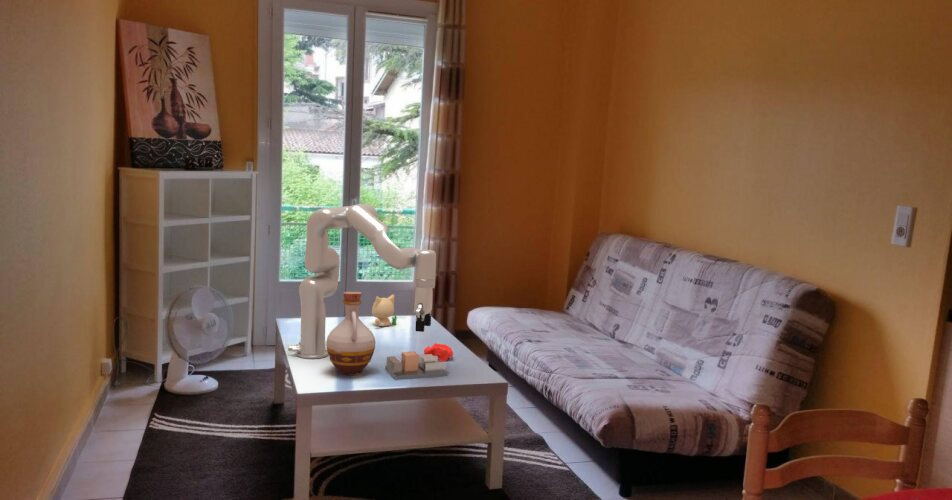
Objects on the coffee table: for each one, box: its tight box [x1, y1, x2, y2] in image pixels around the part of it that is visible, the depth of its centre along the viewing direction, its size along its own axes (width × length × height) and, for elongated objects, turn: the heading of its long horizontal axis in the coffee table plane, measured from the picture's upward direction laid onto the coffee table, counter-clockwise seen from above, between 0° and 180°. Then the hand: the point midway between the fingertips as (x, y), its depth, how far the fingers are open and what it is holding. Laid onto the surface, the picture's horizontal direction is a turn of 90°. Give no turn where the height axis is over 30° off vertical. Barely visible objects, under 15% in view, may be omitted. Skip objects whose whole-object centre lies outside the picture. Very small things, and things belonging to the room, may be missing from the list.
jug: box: [325, 291, 376, 376], centre depth 260 cm, size 20×18×30 cm
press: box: [384, 355, 448, 381], centre depth 266 cm, size 20×14×6 cm
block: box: [400, 350, 420, 371], centre depth 265 cm, size 5×5×6 cm
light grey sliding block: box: [418, 354, 437, 370], centre depth 268 cm, size 5×6×4 cm
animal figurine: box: [423, 342, 454, 362], centre depth 289 cm, size 12×15×5 cm
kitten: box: [371, 294, 397, 327], centre depth 338 cm, size 15×10×15 cm
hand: (423, 328), depth 265 cm, fingers open, 9 cm apart
